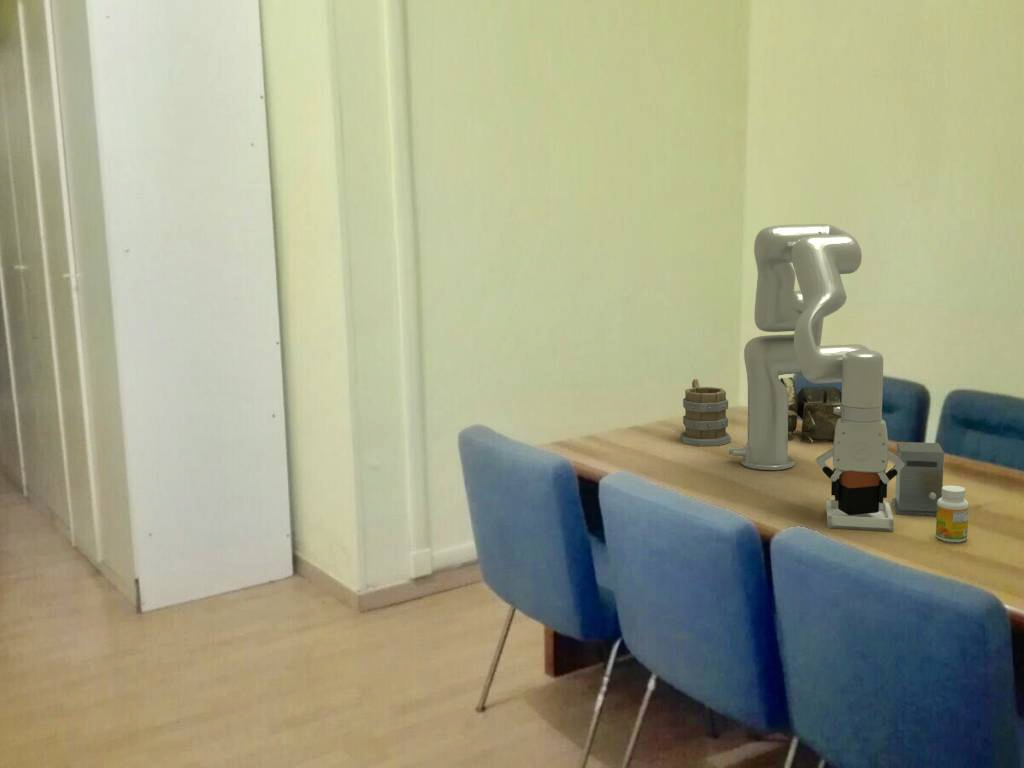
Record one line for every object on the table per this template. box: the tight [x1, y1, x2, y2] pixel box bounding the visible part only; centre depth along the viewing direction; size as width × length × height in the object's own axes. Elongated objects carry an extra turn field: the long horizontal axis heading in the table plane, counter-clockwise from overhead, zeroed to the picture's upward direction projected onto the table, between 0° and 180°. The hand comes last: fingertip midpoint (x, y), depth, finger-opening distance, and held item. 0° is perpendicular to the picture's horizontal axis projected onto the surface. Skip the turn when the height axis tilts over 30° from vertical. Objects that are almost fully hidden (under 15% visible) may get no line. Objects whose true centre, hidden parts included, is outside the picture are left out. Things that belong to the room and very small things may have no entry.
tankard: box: [680, 378, 732, 447], centre depth 268 cm, size 20×13×15 cm, turn 179°
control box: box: [891, 441, 945, 517], centre depth 201 cm, size 9×9×13 cm
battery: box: [838, 470, 880, 515], centre depth 195 cm, size 4×7×10 cm, turn 100°
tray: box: [825, 498, 895, 532], centre depth 196 cm, size 12×12×2 cm
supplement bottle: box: [935, 485, 970, 543], centre depth 183 cm, size 5×5×10 cm
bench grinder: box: [779, 376, 842, 443], centre depth 263 cm, size 20×22×20 cm
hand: (858, 499), depth 195 cm, fingers closed on battery, 7 cm apart
